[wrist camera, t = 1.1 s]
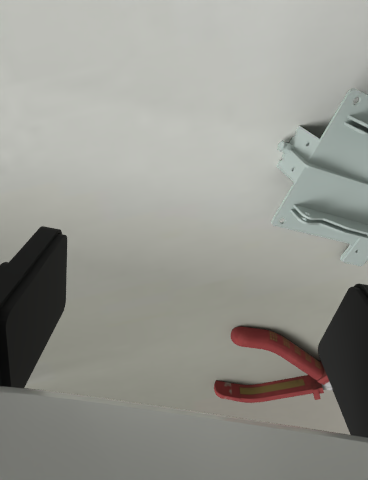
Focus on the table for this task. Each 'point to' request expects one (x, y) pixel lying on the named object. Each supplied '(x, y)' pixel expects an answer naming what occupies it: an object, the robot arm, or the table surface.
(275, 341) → the pliers
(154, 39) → the table surface
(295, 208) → the metal bracket
